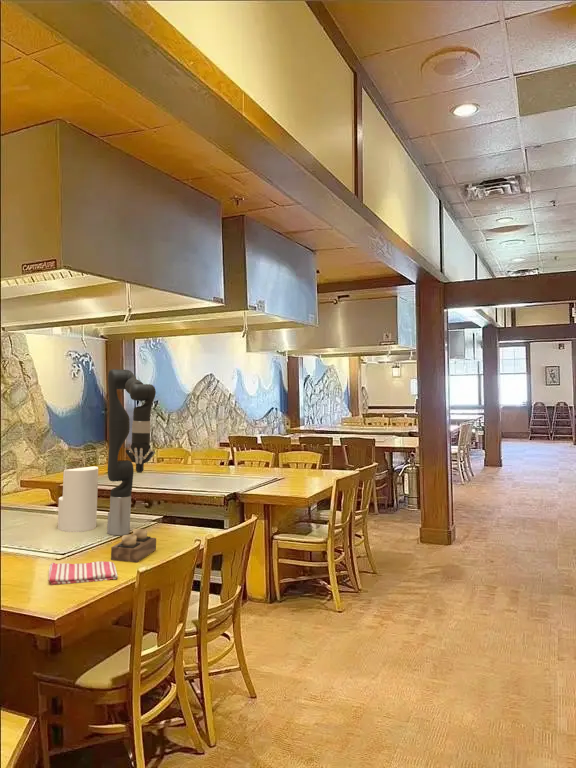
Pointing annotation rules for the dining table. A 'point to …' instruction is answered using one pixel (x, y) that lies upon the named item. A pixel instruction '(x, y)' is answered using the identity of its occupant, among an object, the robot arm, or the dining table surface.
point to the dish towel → (81, 572)
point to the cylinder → (78, 500)
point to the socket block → (133, 550)
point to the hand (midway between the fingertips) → (139, 472)
